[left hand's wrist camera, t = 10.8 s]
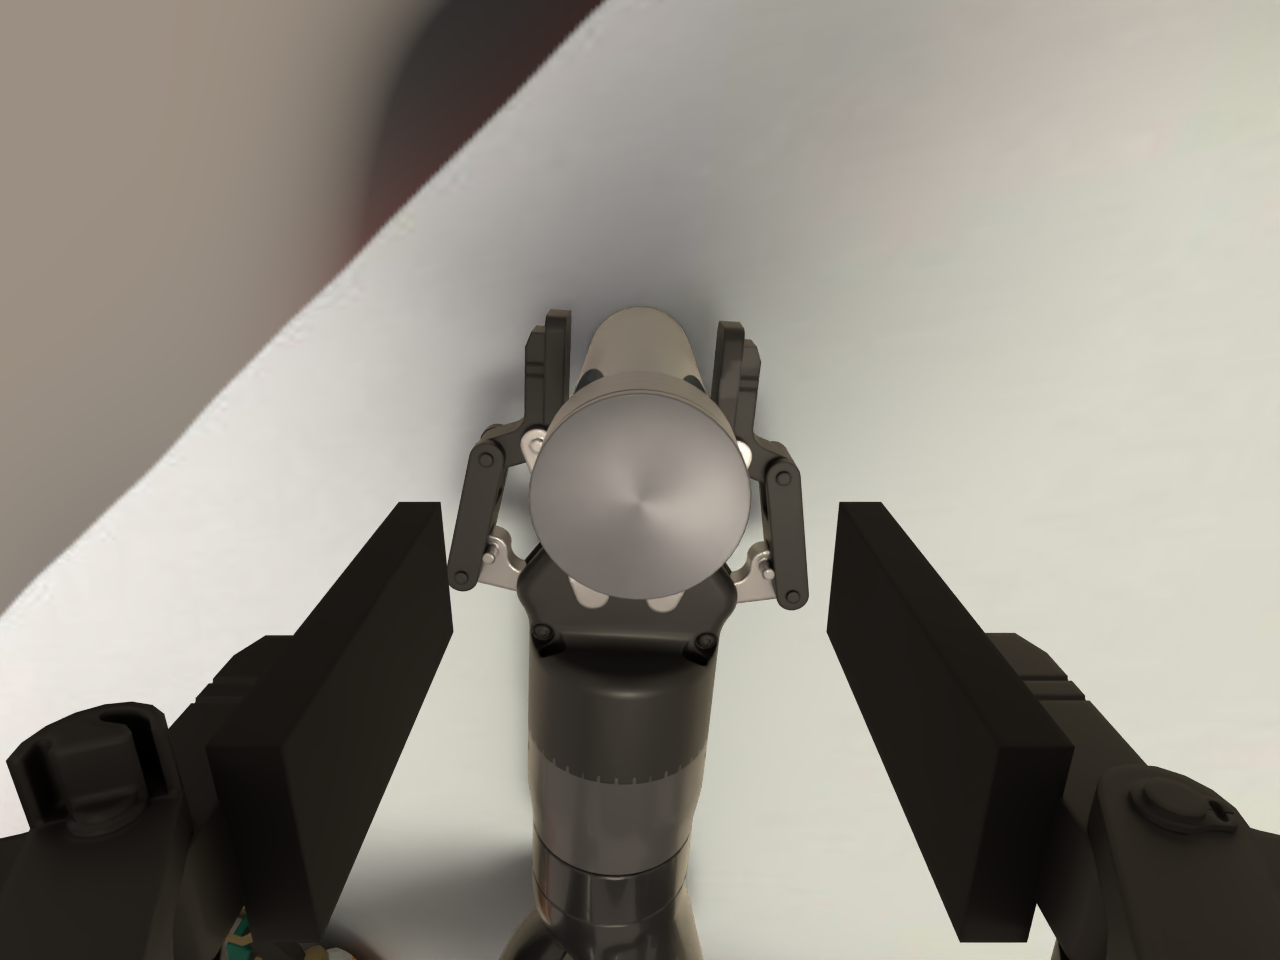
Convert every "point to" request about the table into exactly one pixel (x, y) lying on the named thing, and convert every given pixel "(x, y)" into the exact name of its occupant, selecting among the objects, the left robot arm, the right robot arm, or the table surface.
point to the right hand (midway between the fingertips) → (644, 320)
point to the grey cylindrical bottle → (640, 348)
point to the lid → (639, 487)
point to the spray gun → (273, 947)
